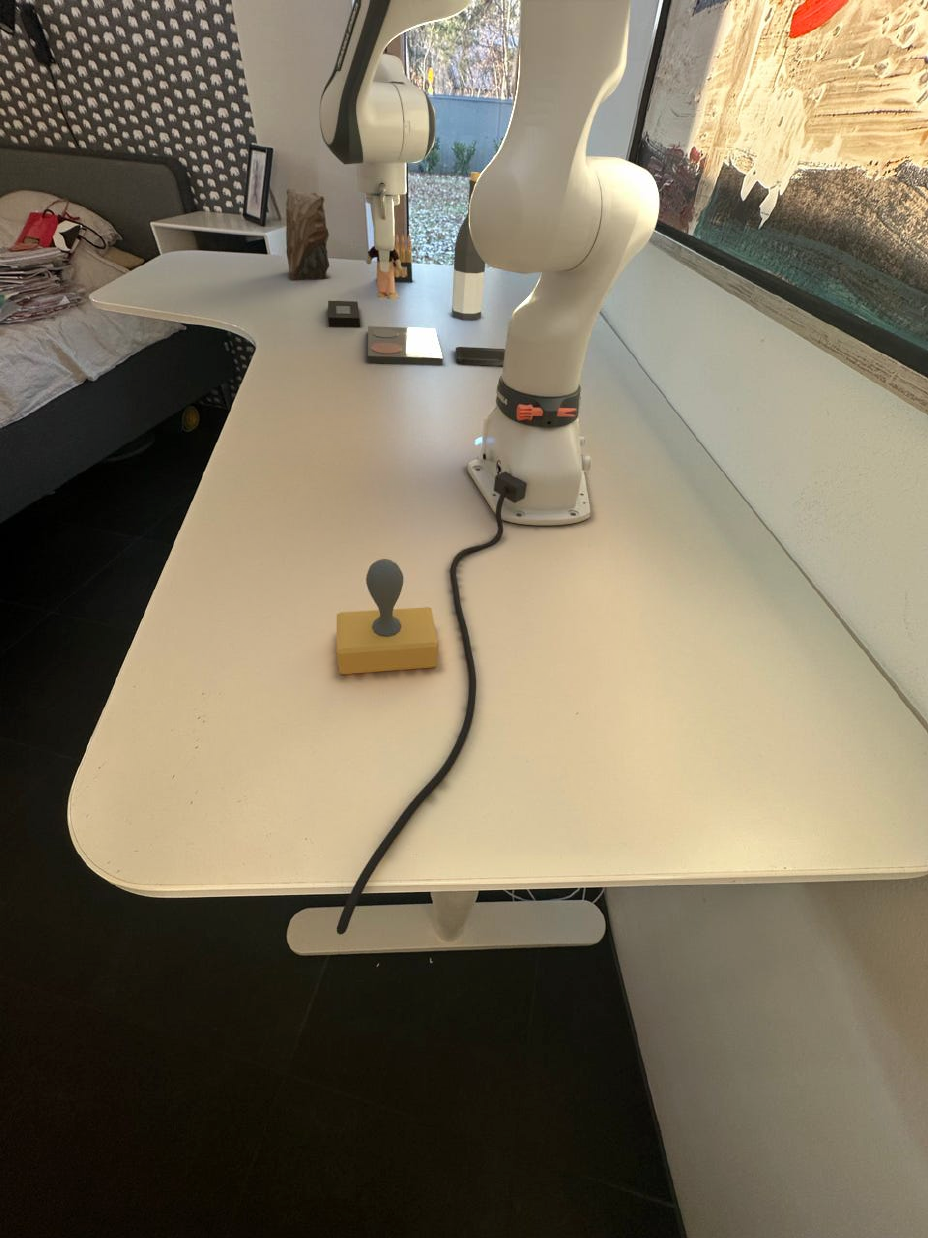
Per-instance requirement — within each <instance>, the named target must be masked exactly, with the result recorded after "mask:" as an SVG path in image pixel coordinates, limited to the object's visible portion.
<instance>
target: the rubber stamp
mask: <svg viewBox="0 0 928 1238" xmlns="http://www.w3.org/2000/svg"><path fill="white" fill-rule="evenodd" d="M365 584H366V587H367V591H368V592H369V594H370V596H371V598H372V600H373V601H374V603H375V605H376V606H377V610H376V609H374V610H361V611H360V610H358V611H343V612H342V611H341V612H338V613H336V659H337V665H338V674H339V675H350V674H363V673H375V672H376V673H377V672H389V671H390V672H391V671H402V670H413V669H414V670H415V669H427V668H429V669H430V668H436V667H437V666H438V650H439V644H438V638H437V632H436V628H435V627H436V626H435V620H434V614H433V609H432V607H428V606H426V607H425V606H424V607H412V608H411V607H410V608H409V607H408V608H395V606H396V604H397V602H398V600H399V599H400V596H401V593H402V589H403V587H404V574H403V571H402V570H401V568H400V566H399V564H397V562H395V561H393V560H391V559H388V558H381V559H378V560H376V561H374V562H372V563H371V564H370V565H369V568H368V570H367V573H366V577H365Z"/></svg>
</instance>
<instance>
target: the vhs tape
mask: <svg viewBox="0 0 928 1238" xmlns="http://www.w3.org/2000/svg"><path fill="white" fill-rule="evenodd" d="M327 321H328V327H347V328H348V327H352V328H353V327H356V328H361V318H360V309H359V302H358V301H355V300H353V301H351V300H327Z"/></svg>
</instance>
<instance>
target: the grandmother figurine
mask: <svg viewBox="0 0 928 1238" xmlns="http://www.w3.org/2000/svg"><path fill="white" fill-rule="evenodd" d="M392 258H393V260H394V262H395V264H396V266H397V270H398V271H401V270H402V266H401V262H400V258H399V256H398V254H397V252H396V250H395V248H394V250H393V251H390V254H389V271H388V272H383V271H381V270H380V260H379V251H378V250H376V249H375V246H374V245H373V246H372V247H371V248H370V249H369V250H368V251H367V258H366V260H365V262H366V264H367V265H371V264H372V260H373V259H376V284H377V292H378V293H377V294H376V297H377V298H381V299H383V298H386V299H388V300H396V299H399V298H400V296H399V294H398V293H397V292H396V282H395V281H394V276H395V274H394V266H393V262H392Z"/></svg>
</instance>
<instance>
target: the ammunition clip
mask: <svg viewBox="0 0 928 1238" xmlns="http://www.w3.org/2000/svg"><path fill="white" fill-rule="evenodd" d="M411 240H412V239H411V236H410V234H408V235H407V239H406V241H405V235H404V234H403V233H402V234H401V238H400V240H399V235H398V234H397V233H396V234H395V236H394V249H395V250H396V252H397V254H398V256H399V258H400V262H401V266H402V270H401V271H398V270H397V266H396V264H395V262H394V260H393V258H392V262H393V266H394V281H395V283H413V265H412V263H413V261H412V259H413V258H412V256H413V255H412V254H413V253H412V241H411Z"/></svg>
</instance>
